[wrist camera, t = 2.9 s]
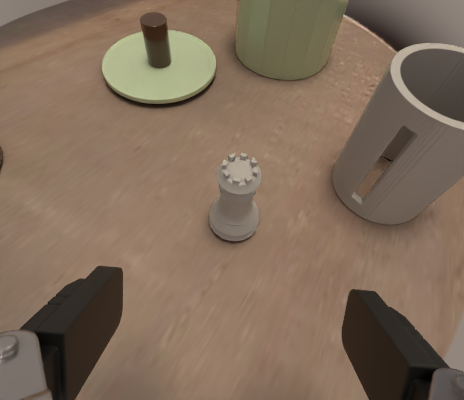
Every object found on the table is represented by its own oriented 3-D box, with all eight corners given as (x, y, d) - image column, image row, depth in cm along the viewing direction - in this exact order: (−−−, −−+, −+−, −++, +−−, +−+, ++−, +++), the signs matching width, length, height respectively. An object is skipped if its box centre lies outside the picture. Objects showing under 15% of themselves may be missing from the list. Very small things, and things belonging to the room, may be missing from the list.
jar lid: (82, 90, 36) (59, 38, 30) (137, 29, 43) (126, -22, 37) (191, 121, 34) (187, 72, 29) (230, 52, 41) (233, 2, 36)
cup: (426, 166, 33) (524, 64, 22) (420, 238, 28) (540, 152, 18) (341, 138, 34) (397, 31, 24) (322, 203, 29) (382, 105, 19)
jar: (222, 65, 39) (225, -29, 30) (249, 16, 46) (259, -74, 37) (318, 90, 38) (351, -2, 29) (333, 36, 44) (364, -53, 35)
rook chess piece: (200, 230, 27) (195, 177, 20) (222, 192, 29) (225, 133, 23) (246, 251, 26) (257, 204, 20) (265, 211, 29) (282, 156, 22)
